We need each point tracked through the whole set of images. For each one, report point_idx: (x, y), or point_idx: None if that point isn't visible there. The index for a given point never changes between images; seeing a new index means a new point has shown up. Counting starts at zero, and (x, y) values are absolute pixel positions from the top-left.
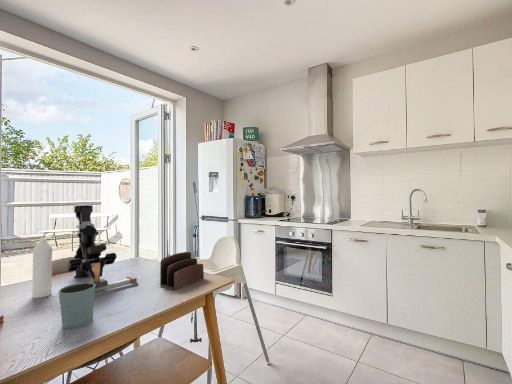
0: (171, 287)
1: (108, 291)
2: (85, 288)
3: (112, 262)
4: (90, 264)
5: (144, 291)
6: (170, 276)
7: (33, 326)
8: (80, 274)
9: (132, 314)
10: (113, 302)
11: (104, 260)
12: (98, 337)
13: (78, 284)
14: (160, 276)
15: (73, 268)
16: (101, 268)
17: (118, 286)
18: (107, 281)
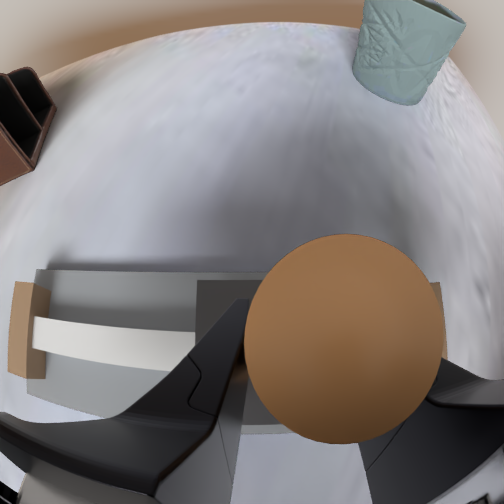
0: (49, 113)
1: (214, 274)
2: (398, 11)
3: (2, 487)
4: (466, 403)
5: (96, 154)
6: (14, 109)
7: (482, 149)
8: None
9: (255, 38)
10: (259, 121)
11: (49, 424)
12: (345, 27)
13: (427, 9)
14: (9, 139)
15: None
16: (212, 356)
17: (127, 306)
18: (199, 280)
